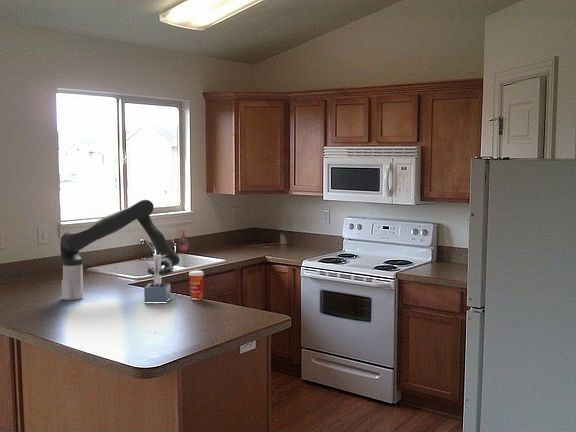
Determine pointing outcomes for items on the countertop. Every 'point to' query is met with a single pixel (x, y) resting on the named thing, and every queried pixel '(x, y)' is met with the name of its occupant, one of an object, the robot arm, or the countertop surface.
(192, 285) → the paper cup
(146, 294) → the grey open box
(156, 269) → the white upright rod
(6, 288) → the countertop surface
